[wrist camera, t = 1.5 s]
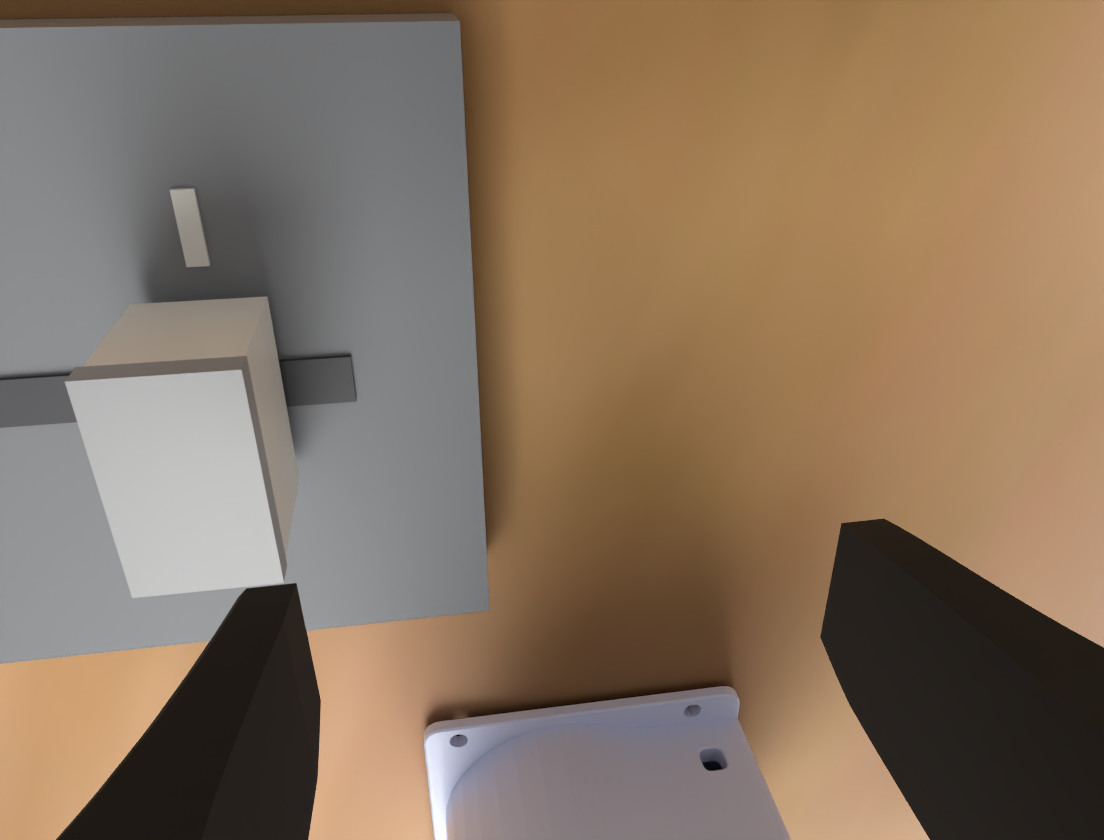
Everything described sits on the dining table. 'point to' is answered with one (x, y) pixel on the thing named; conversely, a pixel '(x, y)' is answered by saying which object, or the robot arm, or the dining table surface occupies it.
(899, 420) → the dining table surface
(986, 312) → the dining table surface
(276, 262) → the console
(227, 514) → the fader tab
